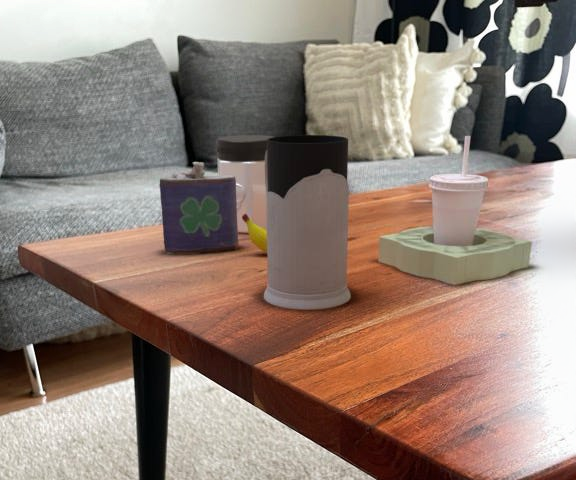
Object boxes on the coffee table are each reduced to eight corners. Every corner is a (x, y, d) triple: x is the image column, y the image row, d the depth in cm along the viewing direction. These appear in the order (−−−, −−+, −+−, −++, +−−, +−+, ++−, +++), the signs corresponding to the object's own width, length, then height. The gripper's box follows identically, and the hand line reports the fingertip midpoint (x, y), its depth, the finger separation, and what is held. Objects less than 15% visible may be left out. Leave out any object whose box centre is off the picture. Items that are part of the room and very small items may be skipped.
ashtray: (449, 245, 91) (451, 221, 90) (537, 267, 81) (540, 241, 80) (370, 261, 84) (371, 236, 83) (455, 288, 74) (457, 259, 73)
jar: (207, 231, 100) (202, 140, 95) (232, 219, 107) (229, 134, 102) (267, 235, 97) (265, 142, 92) (289, 223, 104) (288, 135, 99)
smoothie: (487, 271, 80) (502, 138, 74) (430, 272, 80) (441, 139, 74) (470, 256, 86) (482, 132, 80) (417, 257, 85) (425, 133, 80)
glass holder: (285, 314, 67) (283, 146, 61) (232, 276, 79) (226, 132, 73) (366, 302, 70) (373, 140, 64) (304, 267, 82) (304, 128, 76)
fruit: (242, 257, 86) (240, 215, 84) (243, 252, 88) (242, 211, 86) (327, 257, 86) (327, 215, 84) (326, 253, 88) (327, 211, 86)
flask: (237, 245, 92) (233, 158, 87) (240, 251, 89) (237, 161, 85) (163, 250, 90) (156, 161, 85) (165, 256, 87) (158, 164, 83)
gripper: (617, -228, 62) (588, -1, 69) (577, -174, 77) (557, 7, 84) (526, -220, 63) (507, 2, 70) (505, -168, 78) (491, 10, 85)
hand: (534, 4), depth 77 cm, fingers open, 9 cm apart
